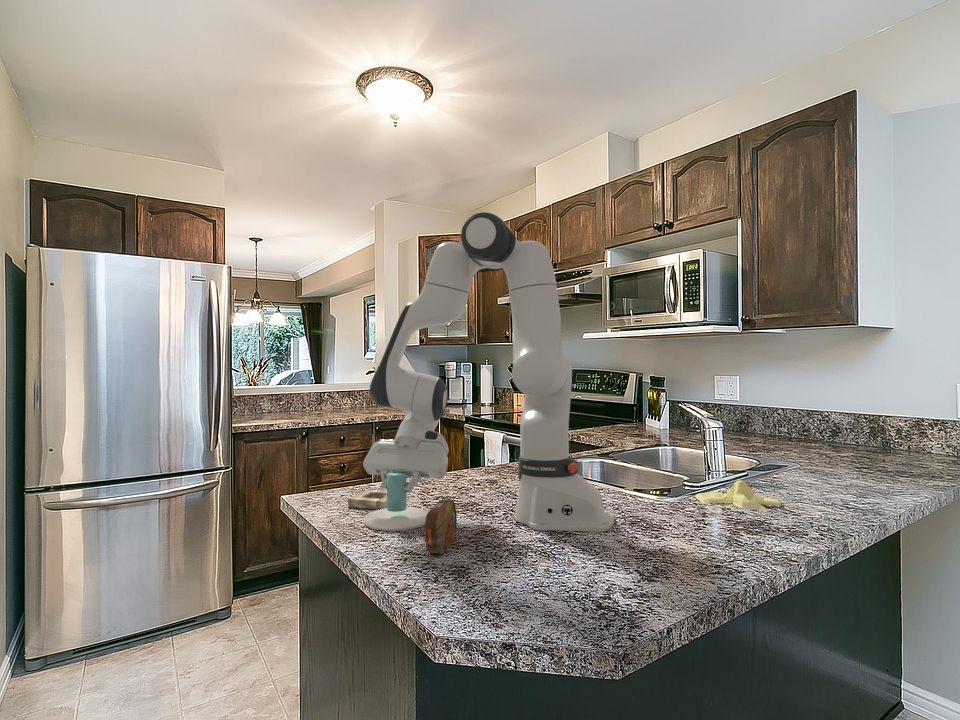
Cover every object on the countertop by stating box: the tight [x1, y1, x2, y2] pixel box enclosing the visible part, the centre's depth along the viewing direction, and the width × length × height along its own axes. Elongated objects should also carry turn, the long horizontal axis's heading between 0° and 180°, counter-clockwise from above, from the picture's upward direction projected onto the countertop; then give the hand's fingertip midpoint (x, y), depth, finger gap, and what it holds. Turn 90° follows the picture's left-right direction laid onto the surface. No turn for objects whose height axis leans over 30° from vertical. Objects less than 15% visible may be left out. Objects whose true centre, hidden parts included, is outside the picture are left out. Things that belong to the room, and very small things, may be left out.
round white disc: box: [363, 506, 429, 532], centre depth 126 cm, size 15×15×1 cm
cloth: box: [694, 480, 782, 511], centre depth 138 cm, size 22×19×6 cm
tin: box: [424, 498, 458, 555], centre depth 109 cm, size 15×3×8 cm, turn 168°
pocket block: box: [347, 489, 387, 510], centre depth 141 cm, size 10×10×2 cm
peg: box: [387, 472, 408, 512], centre depth 126 cm, size 4×4×8 cm
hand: (395, 490), depth 126 cm, fingers closed on peg, 4 cm apart
